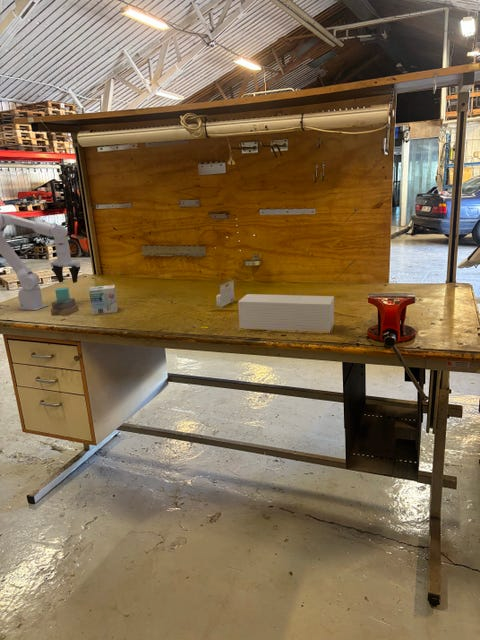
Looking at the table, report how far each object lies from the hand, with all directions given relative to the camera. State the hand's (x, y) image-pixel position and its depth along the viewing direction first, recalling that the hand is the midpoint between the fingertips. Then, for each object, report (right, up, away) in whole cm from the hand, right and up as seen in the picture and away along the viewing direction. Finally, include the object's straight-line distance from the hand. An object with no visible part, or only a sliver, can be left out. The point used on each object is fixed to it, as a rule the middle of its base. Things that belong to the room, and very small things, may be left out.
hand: (68, 282), depth 207 cm
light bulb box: (+21, -14, -12) cm, 28 cm away
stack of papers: (+96, -20, -46) cm, 108 cm away
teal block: (+2, -9, -12) cm, 15 cm away
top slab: (+3, -12, -12) cm, 17 cm away
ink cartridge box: (+73, -11, -11) cm, 74 cm away
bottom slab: (+3, -15, -11) cm, 18 cm away
